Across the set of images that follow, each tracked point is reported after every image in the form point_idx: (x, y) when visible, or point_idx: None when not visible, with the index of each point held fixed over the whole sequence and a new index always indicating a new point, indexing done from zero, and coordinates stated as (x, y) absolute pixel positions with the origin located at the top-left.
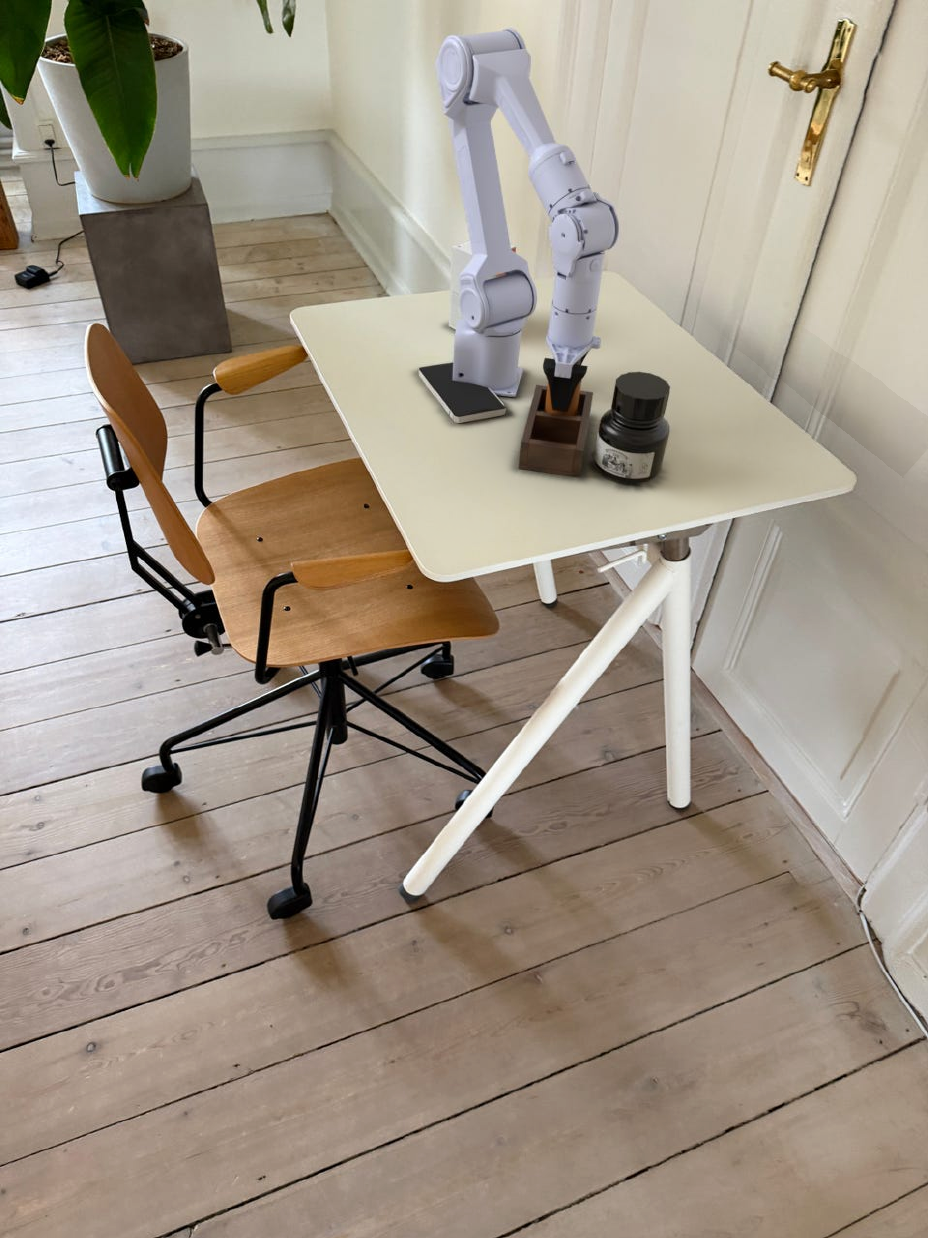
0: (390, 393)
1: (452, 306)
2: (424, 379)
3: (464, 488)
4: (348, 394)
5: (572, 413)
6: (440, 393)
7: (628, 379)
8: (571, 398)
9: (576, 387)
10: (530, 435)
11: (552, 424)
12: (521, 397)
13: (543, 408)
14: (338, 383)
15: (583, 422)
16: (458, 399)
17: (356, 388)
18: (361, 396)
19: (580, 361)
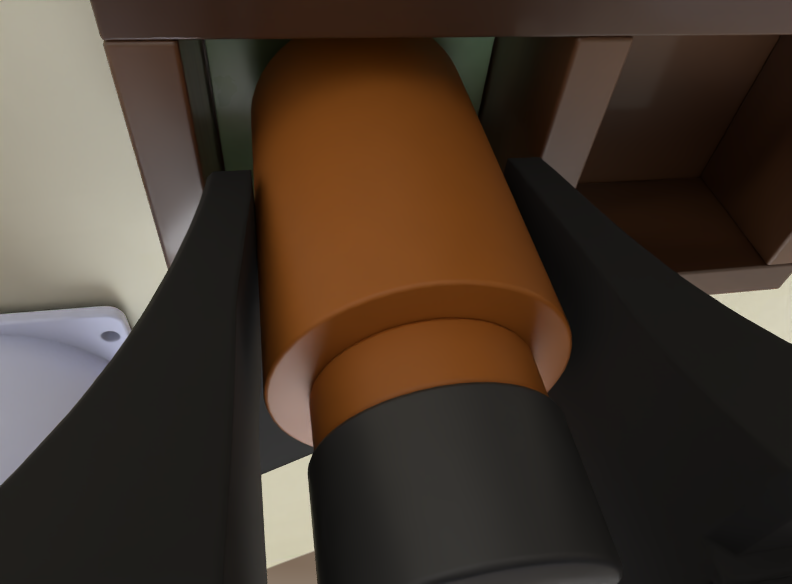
0: (273, 512)
1: None
2: None
3: (769, 297)
4: (310, 544)
5: (457, 92)
6: (262, 470)
7: None
8: (621, 230)
9: (729, 308)
10: (737, 268)
11: None
12: (91, 279)
13: None
14: (268, 563)
15: (665, 13)
16: (282, 436)
17: (277, 545)
18: (311, 532)
19: (238, 403)
